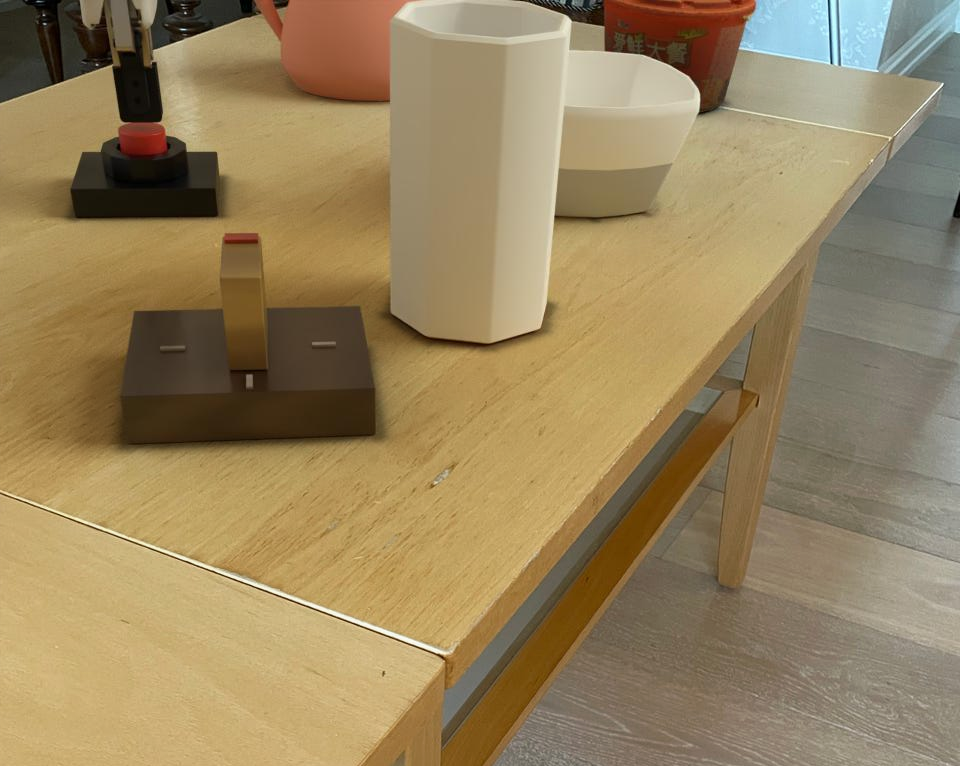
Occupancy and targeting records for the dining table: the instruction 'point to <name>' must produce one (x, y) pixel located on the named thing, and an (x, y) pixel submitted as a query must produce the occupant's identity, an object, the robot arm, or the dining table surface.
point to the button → (142, 138)
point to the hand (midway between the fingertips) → (142, 118)
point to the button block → (146, 182)
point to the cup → (474, 164)
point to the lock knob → (244, 301)
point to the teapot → (336, 45)
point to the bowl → (620, 132)
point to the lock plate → (247, 378)
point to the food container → (682, 37)
